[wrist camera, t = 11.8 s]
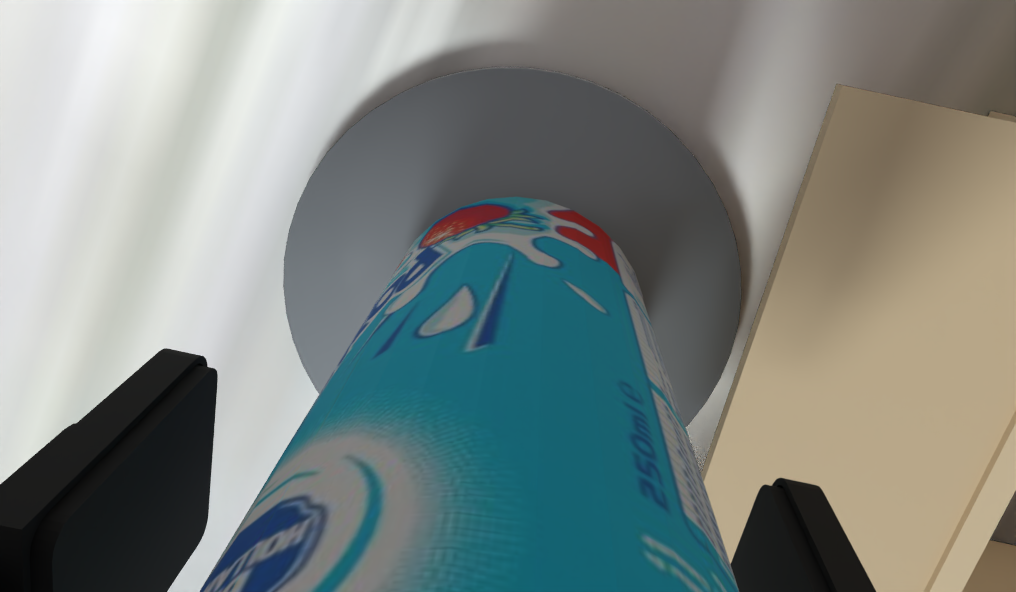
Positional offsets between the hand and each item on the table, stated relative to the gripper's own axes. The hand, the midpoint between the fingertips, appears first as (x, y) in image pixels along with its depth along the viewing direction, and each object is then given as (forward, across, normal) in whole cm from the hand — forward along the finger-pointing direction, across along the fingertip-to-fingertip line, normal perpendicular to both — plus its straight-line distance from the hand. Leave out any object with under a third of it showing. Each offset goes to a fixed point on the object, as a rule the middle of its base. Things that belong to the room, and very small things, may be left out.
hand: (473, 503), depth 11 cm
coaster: (+8, 0, 0) cm, 8 cm away
